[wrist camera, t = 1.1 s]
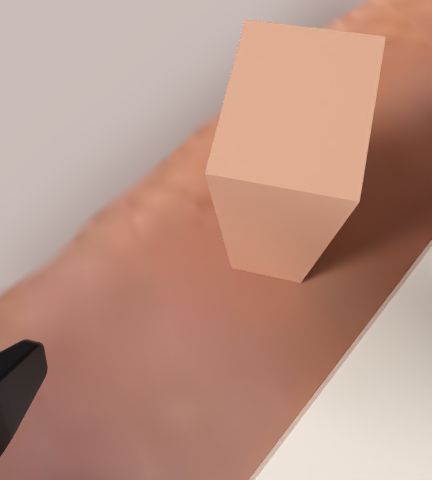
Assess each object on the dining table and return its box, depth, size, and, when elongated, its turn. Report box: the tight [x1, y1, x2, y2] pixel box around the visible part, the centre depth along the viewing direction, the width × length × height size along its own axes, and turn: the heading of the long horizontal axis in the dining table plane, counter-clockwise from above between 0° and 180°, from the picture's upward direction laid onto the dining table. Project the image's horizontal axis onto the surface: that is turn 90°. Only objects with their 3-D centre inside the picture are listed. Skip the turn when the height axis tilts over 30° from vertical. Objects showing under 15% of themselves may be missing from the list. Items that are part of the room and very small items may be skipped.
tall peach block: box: [205, 20, 386, 283], centre depth 17 cm, size 5×4×13 cm
